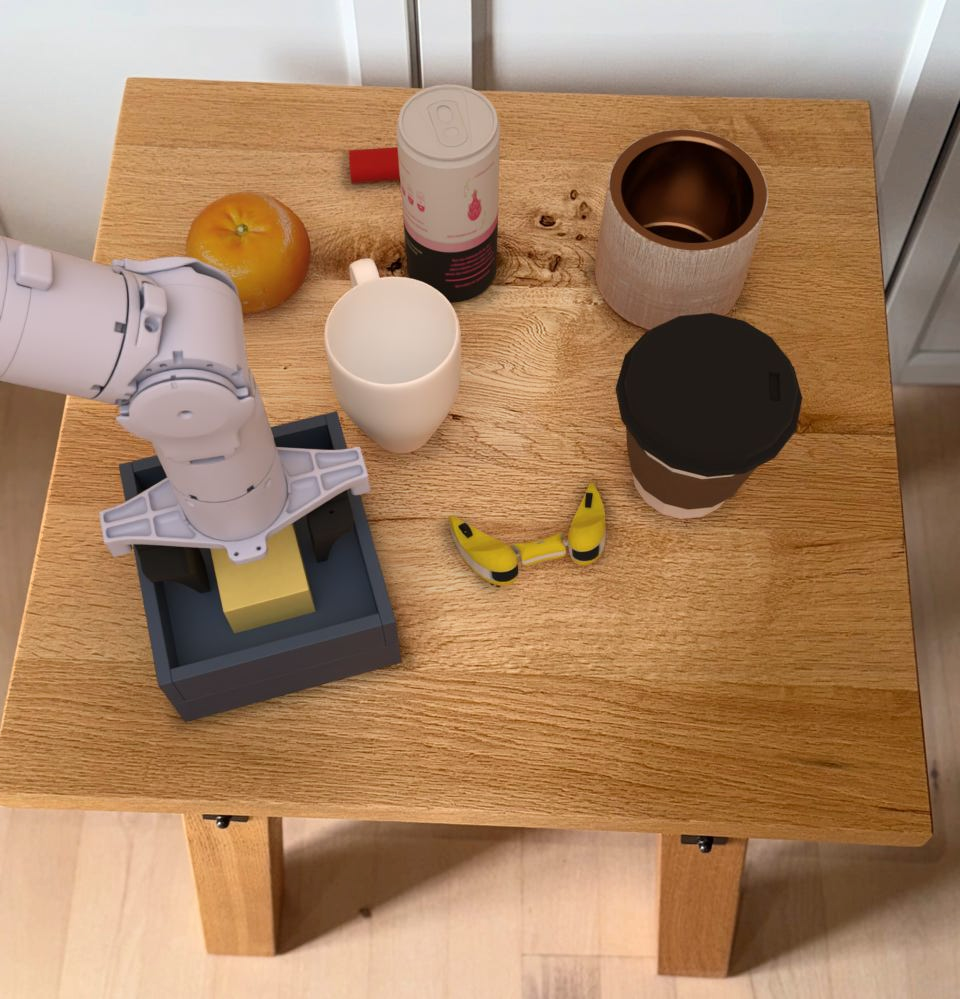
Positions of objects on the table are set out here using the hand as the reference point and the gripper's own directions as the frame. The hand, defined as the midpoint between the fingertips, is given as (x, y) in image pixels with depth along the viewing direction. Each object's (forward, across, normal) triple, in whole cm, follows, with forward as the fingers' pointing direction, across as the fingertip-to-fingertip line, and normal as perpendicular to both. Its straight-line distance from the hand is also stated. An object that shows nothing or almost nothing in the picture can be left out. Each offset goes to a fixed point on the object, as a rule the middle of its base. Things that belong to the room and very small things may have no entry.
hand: (261, 562), depth 74 cm
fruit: (+4, +4, +24) cm, 25 cm away
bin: (+4, 0, 0) cm, 4 cm away
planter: (+4, +33, +16) cm, 37 cm away
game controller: (+4, +17, -2) cm, 18 cm away
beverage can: (+4, +18, +21) cm, 28 cm away
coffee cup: (+4, +28, 0) cm, 28 cm away
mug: (+4, +11, +11) cm, 16 cm away
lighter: (+4, +17, +32) cm, 36 cm away
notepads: (0, 0, 0) cm, 0 cm away
